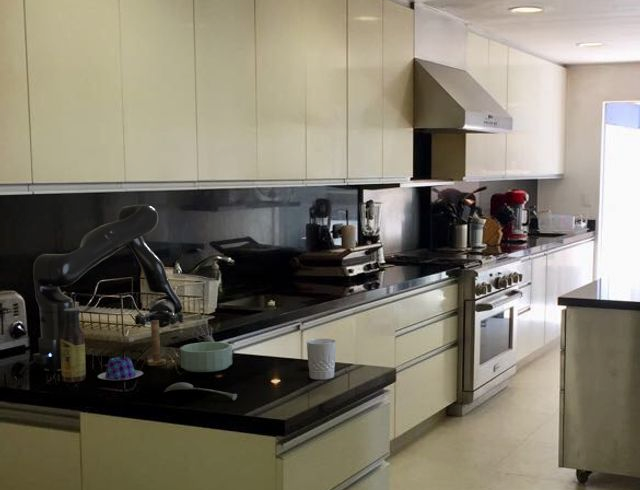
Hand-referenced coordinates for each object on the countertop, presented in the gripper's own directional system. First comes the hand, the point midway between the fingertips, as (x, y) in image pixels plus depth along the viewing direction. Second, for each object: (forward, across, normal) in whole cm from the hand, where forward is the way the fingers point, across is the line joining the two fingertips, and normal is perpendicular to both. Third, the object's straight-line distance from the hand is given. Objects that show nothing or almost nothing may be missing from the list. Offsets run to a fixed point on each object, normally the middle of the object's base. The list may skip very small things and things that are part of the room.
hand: (157, 321), depth 281 cm
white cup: (+38, +46, +11) cm, 61 cm away
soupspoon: (+51, +14, +11) cm, 54 cm away
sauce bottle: (+26, -20, +11) cm, 35 cm away
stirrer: (+10, 0, +11) cm, 15 cm away
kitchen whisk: (-15, +14, +11) cm, 24 cm away
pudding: (+25, -8, +11) cm, 29 cm away
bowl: (+17, +15, +11) cm, 25 cm away
